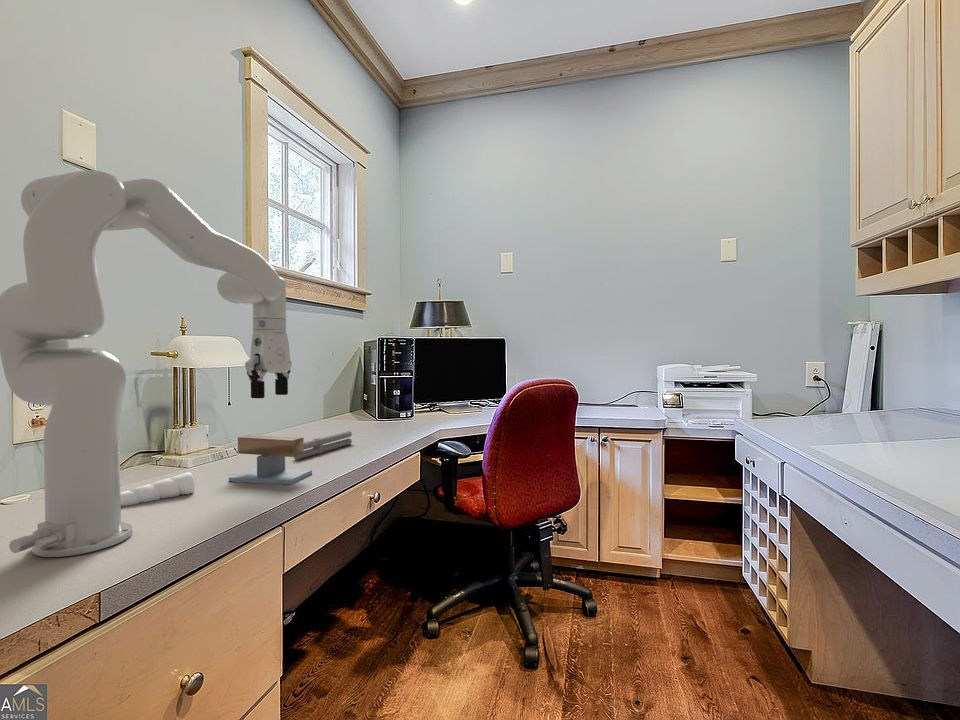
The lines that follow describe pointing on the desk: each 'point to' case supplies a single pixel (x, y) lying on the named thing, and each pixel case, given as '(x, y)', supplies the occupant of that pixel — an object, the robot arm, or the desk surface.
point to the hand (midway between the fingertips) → (270, 396)
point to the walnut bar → (271, 445)
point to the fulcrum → (271, 472)
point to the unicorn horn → (159, 490)
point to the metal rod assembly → (321, 448)
